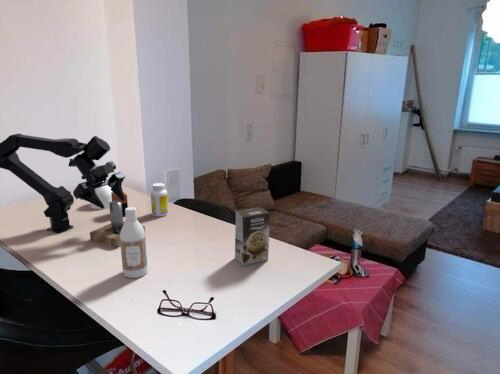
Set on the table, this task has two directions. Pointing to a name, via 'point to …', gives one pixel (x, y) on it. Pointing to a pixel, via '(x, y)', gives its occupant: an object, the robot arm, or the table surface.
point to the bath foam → (133, 246)
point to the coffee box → (252, 235)
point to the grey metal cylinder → (116, 216)
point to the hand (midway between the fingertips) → (114, 204)
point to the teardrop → (103, 196)
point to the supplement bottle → (159, 200)
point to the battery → (124, 203)
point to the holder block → (106, 236)
